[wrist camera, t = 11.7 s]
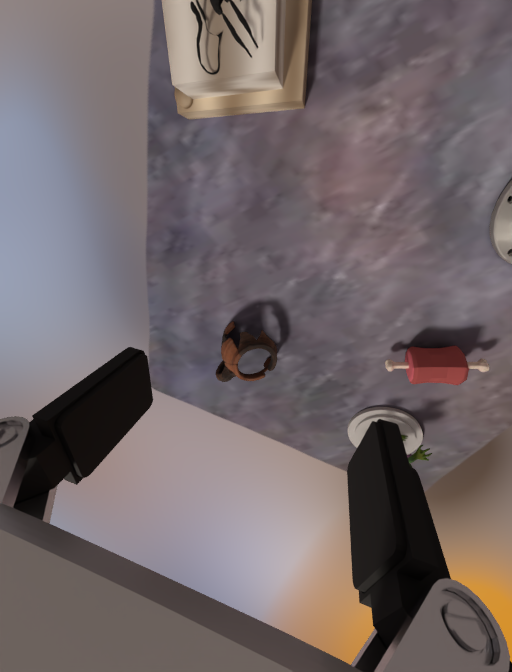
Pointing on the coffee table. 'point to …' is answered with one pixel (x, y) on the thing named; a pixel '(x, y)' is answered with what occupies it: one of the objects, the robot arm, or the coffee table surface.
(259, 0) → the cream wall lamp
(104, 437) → the robot arm
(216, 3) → the creature
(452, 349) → the meat
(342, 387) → the coffee table surface
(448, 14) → the coffee table surface
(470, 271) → the coffee table surface
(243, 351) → the pottery mug
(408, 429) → the monster figurine
